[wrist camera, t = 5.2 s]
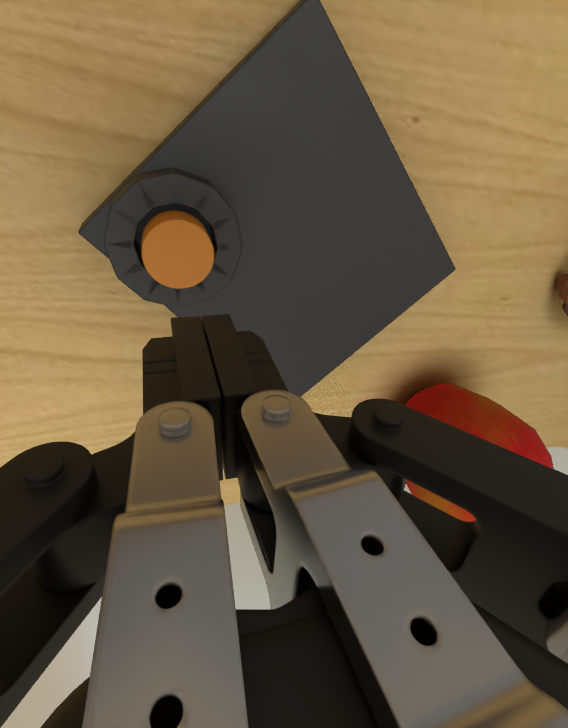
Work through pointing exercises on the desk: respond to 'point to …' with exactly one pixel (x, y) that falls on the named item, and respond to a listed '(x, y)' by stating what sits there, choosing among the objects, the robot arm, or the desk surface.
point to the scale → (285, 205)
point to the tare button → (177, 249)
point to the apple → (475, 431)
